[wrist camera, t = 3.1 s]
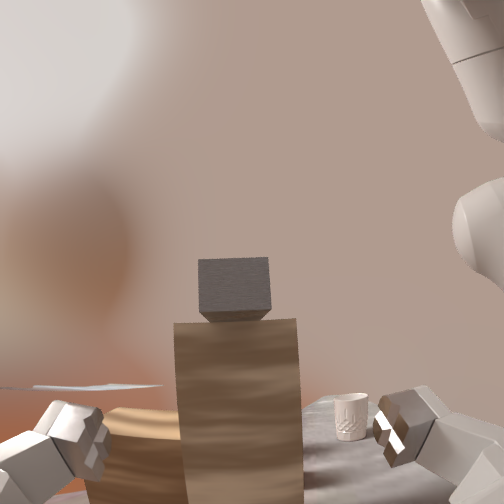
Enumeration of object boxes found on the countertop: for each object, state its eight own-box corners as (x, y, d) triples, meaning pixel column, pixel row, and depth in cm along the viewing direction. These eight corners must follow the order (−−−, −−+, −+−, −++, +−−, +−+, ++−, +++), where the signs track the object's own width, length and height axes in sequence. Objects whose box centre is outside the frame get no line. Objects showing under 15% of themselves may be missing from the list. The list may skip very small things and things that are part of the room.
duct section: (271, 308, 17) (268, 257, 18) (199, 312, 17) (198, 259, 17) (251, 328, 36) (249, 303, 37) (217, 329, 36) (216, 305, 37)
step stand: (303, 561, 17) (295, 318, 25) (106, 553, 16) (68, 320, 23) (285, 512, 29) (276, 327, 36) (135, 510, 27) (115, 329, 35)
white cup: (346, 445, 52) (345, 402, 55) (328, 437, 60) (327, 398, 63) (375, 435, 54) (375, 394, 57) (356, 429, 62) (355, 392, 65)
